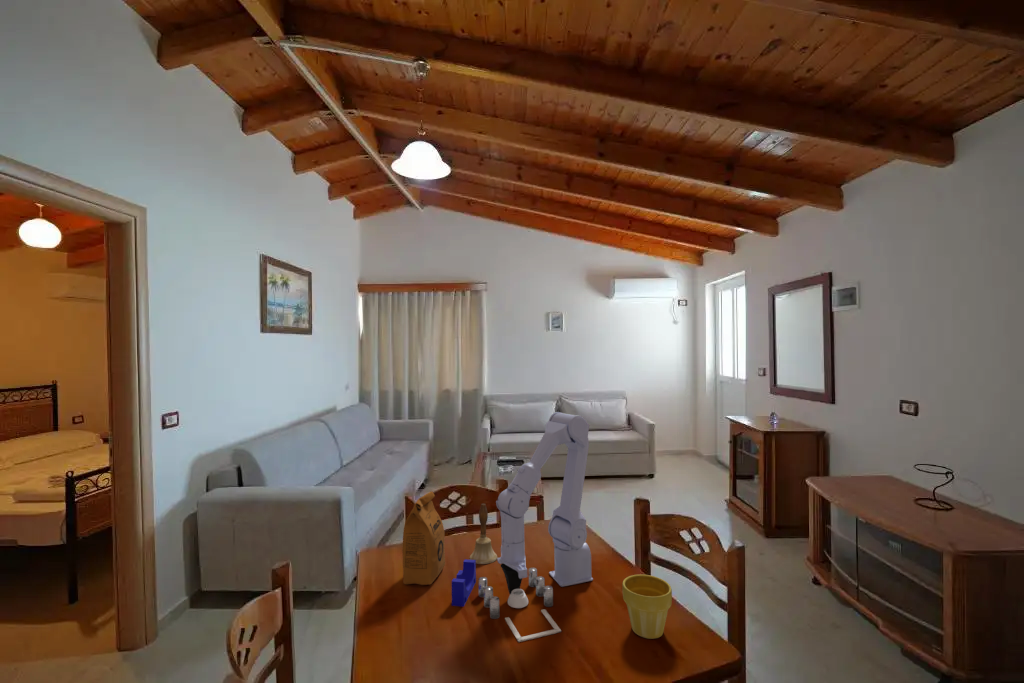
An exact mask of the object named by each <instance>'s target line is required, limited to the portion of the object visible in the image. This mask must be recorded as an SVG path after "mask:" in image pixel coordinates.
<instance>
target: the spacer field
mask: <svg viewBox="0 0 1024 683" xmlns="http://www.w3.org/2000/svg"><path fill="white" fill-rule="evenodd" d="M477 579H478V580H477V581H478V583H477V584H478V597H480V598H483V606H484V608H489V617H490V619H492V620H497V619H499V618H500V597H498V596H494V588H493V587H492V586H490V585H488V577H486V576H480V577H479V578H477ZM545 582H546V581H545V577H544V576H542V575H541V576H540V575H539V576H538V569H537V568H536V567H529V568H528V586H529V587H530V588H535V595H536V596H537V597H539V598H540V597H543V606H544V607H546V608H552V607H553V606H554V589H553V586H552V585H545Z"/></svg>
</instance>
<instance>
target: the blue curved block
mask: <svg viewBox="0 0 1024 683" xmlns="http://www.w3.org/2000/svg"><path fill="white" fill-rule="evenodd" d="M462 564H463V565H462V570H460V569H459V570H458V571H457V572H458V573H456V577H455V578H454V577H453V579H451V606H452V607H453V606H454V607H463V608H464V607H465V606H466V604H467V601H468V598H469V597H470V595H471V593H472V591H473V589H474V586H475V584H476V582H477V568H476V566H477V564H476V560H470V559H463V563H462Z"/></svg>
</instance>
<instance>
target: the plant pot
mask: <svg viewBox="0 0 1024 683" xmlns="http://www.w3.org/2000/svg"><path fill="white" fill-rule="evenodd" d="M622 599H623V601H624V603H625V604H626V607H627V612H628V617H629V622H630V625H631V630H632V631H633V632H634V633H635V634H636V635H638V636H639V637H641V638H644V639H648V640H649V639H650V640H651V639H653V640H654V639H659V638H660V637H662V636H663V634H664V631H665V625H666V621H667V616H668V612H669V611H668V610H669V609H670V608H671V607H672V601H673V592H672V587H671V584H669V583H668V581H666V580H664V579H663V578H661V577H658V576H655V575H649V574H634V575H633V574H632V575H629V576H627V577H626V578H624V579H623V581H622Z"/></svg>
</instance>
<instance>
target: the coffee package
mask: <svg viewBox="0 0 1024 683" xmlns="http://www.w3.org/2000/svg"><path fill="white" fill-rule="evenodd" d="M435 497H436V496H435V493H434V492H433V491H432V490H431V491H430V492H427V493H426V494H423V495H422V496H421V497H418V499H417V500H416V502H415V503H414V505H413V507H412V509H411V510H410V512H409V515H408V516H407V517H406V520H405V522H404V525H403V532H402V534H403V535H402V547H401V548H402V550H401V552H402V570H403V571H402V574H403V576H402V577H403V581H402V582H403V583H402V584H404V585H413V584H417V585H419V586H420V585H421V586H427V585H432V584H433V582H434V581H435V580H436V579H437V577H438V576H439V575H440V574H441V572H442V570H443V569H444V567H445V566H446V555H445V554H446V552H445V551H446V550H445V528H444V523H443V521H442V519H441V516H440V515H439V513H438V512H437V510H436V509H435V506H434V503H433V499H435Z"/></svg>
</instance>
